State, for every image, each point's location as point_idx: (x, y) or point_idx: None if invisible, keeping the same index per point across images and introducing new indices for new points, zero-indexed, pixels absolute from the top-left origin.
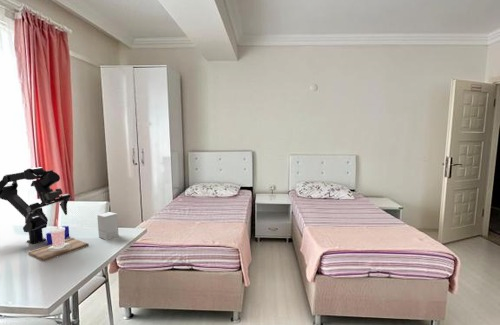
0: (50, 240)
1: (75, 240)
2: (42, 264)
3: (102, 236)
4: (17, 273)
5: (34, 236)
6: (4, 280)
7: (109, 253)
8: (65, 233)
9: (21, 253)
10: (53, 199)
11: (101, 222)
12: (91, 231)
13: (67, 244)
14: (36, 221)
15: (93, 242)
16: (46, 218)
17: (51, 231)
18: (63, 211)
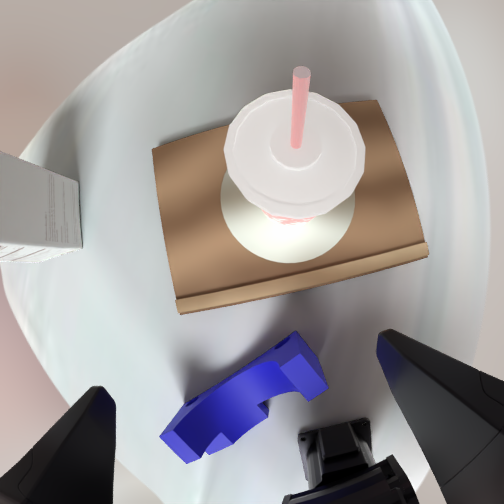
0: (305, 348)
1: (179, 258)
2: (378, 83)
3: (73, 208)
4: (444, 83)
5: (360, 447)
6: (463, 71)
7: (152, 36)
8: (197, 404)
9: (438, 307)
10: None
11: (14, 194)
12: (87, 376)
13: (238, 205)
14: (382, 498)
15: (123, 188)
16: (404, 354)
17: (355, 124)
18: (110, 463)
